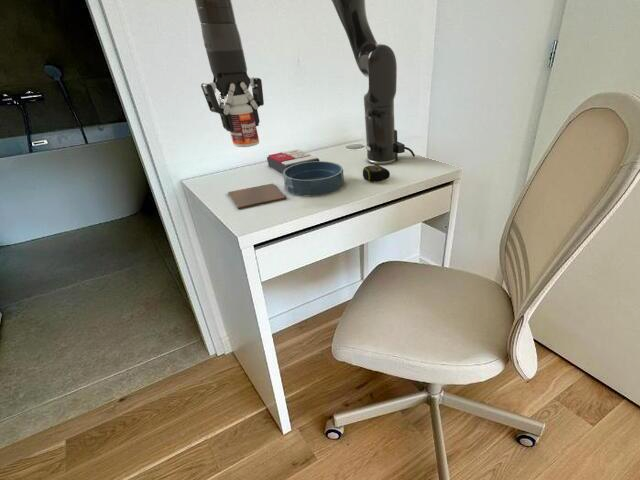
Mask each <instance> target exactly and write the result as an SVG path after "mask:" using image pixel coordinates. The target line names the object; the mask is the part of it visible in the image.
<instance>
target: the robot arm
mask: <svg viewBox="0 0 640 480" xmlns="http://www.w3.org/2000/svg"><path fill="white" fill-rule="evenodd" d="M330 1H331V3H332V5H333V7H334V9H335V12H336V14H337V16H338V19H339V20H340V23H341V25H342V27H343V29H344V32H345V34H346V36H347V39H348V42H349V45H350V49H351V51H352V54H353V58H354V60H355V63H356V66H357V68H358V70H359V71H360V73H361V74H362V75H363V77H365V78H367V79H368V90H367V92H366V93H365V94H364V95H363V111H364V124H365V125H364V127H365V141H366V145H365V149H366V161H367V163H369V164H372V165H389V164H390V165H391V164H393V163H395V162H396V161H399V155H398V154H403V153H404V154H405V151H408V152H410V153H411V156H412V157H413V158H415V156H416V155H415V152H414V151H413V150H412V149H411V148H409V147H407V146H406V145H405V144H404V143H402V142H400V141H398V130H397V129H395V128H396V127H395V125H396V124H395V98H396V94H397V84H398V83H397V79H398V74H397V73H398V66H397V57H396V53H395V52H394V50H393V49H392V47H390V46H389V45H387V44H383V43H378V42H377V41H376V38H375V36H374V34H373V32H372V29H371V26H370V23H369V21H368V17H367V10H366V9H367V8H366V0H330ZM194 4H195V7H196V12H197V16H198V19H199V23H200V28H201V29H200V30H201V35H202V41H203V45H204V48H205V52H206V56H207V59H208V63H209V67H210V71H211V74H212V76H213V80H212V82H208V83H204V82H202V83H201V84H200V88H201V90H202V93H203V96H204V98H205V100H206V103H207V105H208V109H209V111H210V112H211V113H215V114H219V116H220V121H221V124H222V127H223V129H224V130H225V131H227V132H232V131H234V129H233V125H232V121H231V117H230V115H229V108H230V105H231V104H232V96H235V95H241V94H247V98H248V103H247V105H249V106H251V108H252V110H253V114H254V119H255V124H256V127H259V126H260V123H261V121H260V115H259V112H258V109H259V107H263V106H264V104H265V103H264V94H263V93H264V92H263V83H262V82H263V81H262V79H261V78H260V77H253V76H252V77H250V76H249V75H248V67H247V62H246V58H245V53H244V48H243V43H242V38H241V34H240V31H239V28H238V24H237V19H236V16H235V11H234V7H233V6H234V5H233V3H232V0H194ZM249 88H251V91H250V90H249ZM216 90H217V91H218V92H219V93H218V99H217V95H216V92H217V91H216ZM251 92H252V93H251ZM224 96H225V97H226V99H224Z"/></svg>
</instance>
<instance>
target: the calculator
mask: <svg viewBox="0 0 640 480" xmlns="http://www.w3.org/2000/svg"><path fill="white" fill-rule="evenodd" d="M266 160H267V165H268V167H269V168H271V169H273V170H275V171H277V172H279V173H281V174H282V175H283V171H284V170H285V169H286V168H288V167H290V166H292V165H295V164H299V163H304V162H313V161H320V158H318V157H316V156H314V155H312V154H311V153H307V152H306V151H302V150H300V149H293V150H287V151H284V152H278V153H273V154H268V156H266Z"/></svg>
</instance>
